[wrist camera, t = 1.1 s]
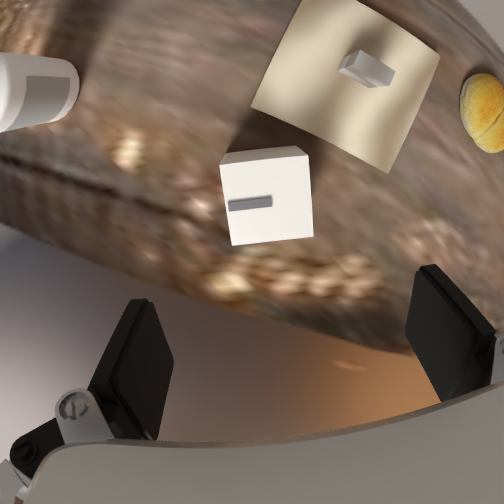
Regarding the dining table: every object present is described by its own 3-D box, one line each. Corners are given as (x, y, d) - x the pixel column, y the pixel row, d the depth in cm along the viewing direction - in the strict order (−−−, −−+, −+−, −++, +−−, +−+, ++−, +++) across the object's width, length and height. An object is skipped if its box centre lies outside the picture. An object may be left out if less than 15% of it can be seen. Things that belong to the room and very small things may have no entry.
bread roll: (477, 61, 22) (499, 59, 18) (513, 120, 25) (534, 125, 21) (442, 102, 25) (465, 104, 21) (482, 162, 27) (503, 171, 24)
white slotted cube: (295, 145, 27) (308, 155, 21) (301, 210, 30) (313, 237, 24) (225, 153, 27) (219, 165, 22) (235, 218, 30) (231, 246, 24)
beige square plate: (432, 57, 22) (467, 52, 17) (381, 170, 28) (409, 186, 23) (310, -15, 20) (323, -40, 15) (250, 106, 26) (250, 105, 20)
